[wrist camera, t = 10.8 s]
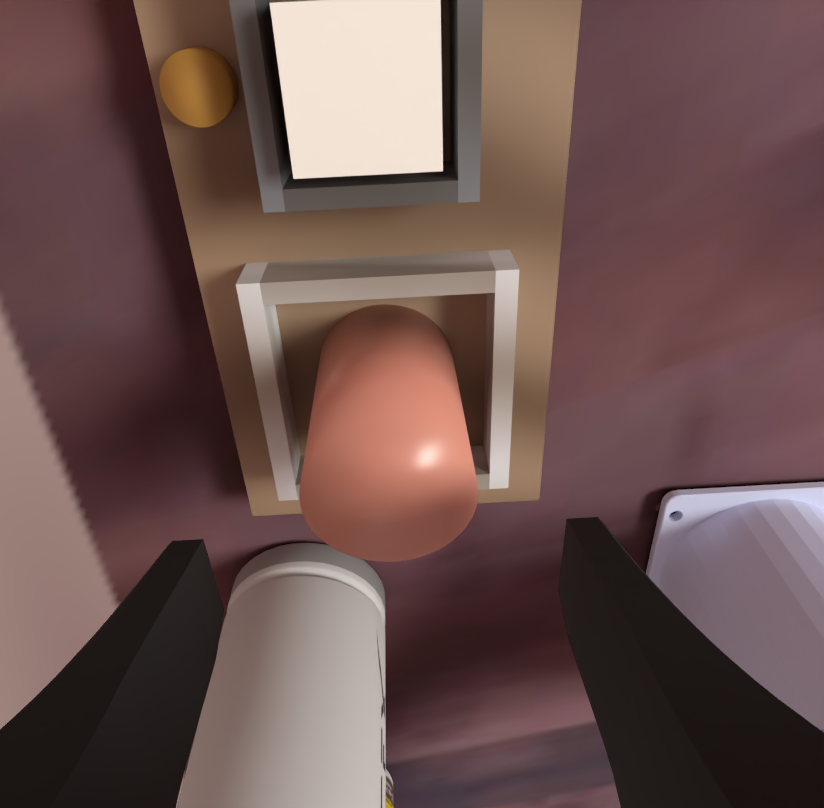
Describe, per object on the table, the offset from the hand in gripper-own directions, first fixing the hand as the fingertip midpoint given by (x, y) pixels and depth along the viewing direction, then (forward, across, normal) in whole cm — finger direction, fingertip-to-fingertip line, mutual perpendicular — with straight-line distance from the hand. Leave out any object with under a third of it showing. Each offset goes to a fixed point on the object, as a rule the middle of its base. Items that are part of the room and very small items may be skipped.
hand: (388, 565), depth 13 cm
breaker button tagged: (+7, 0, -8) cm, 11 cm away
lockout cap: (+8, 0, 0) cm, 8 cm away
